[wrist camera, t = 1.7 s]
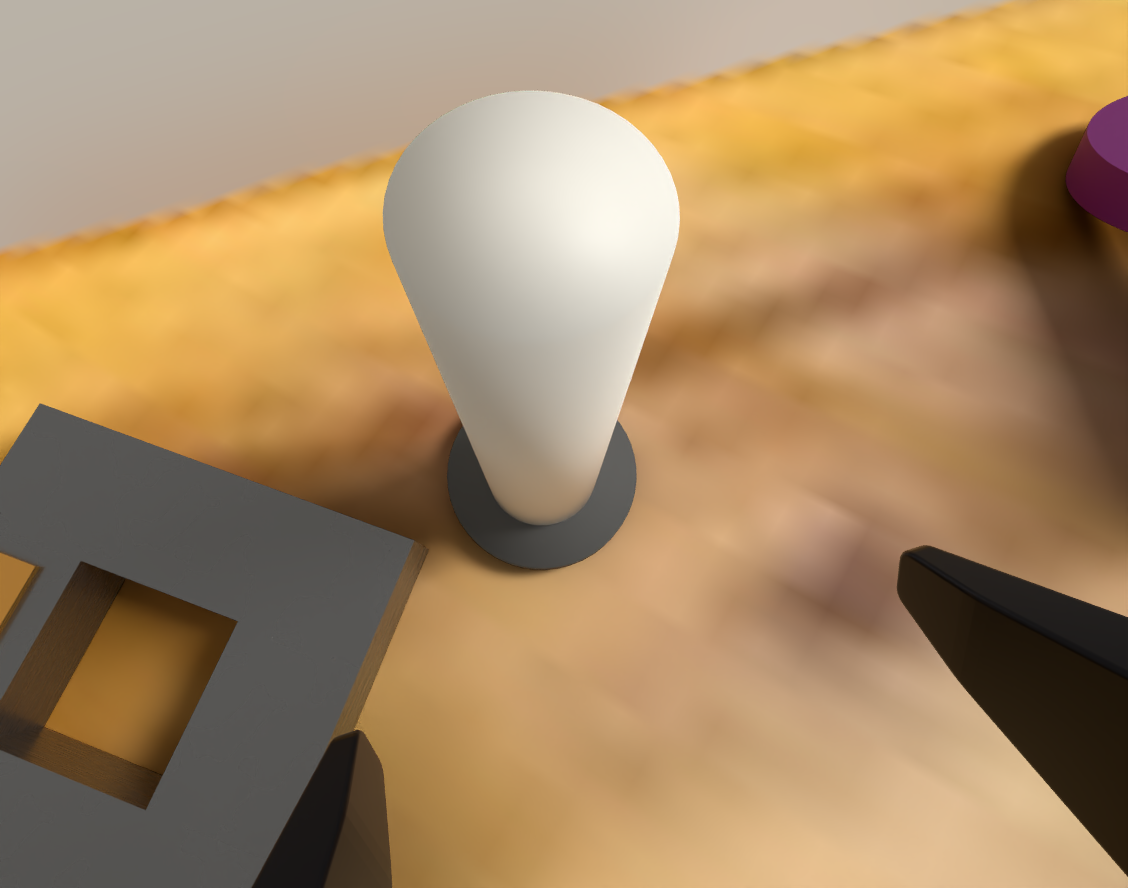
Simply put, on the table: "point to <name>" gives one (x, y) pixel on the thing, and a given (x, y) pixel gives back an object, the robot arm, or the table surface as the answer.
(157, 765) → the table surface
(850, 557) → the table surface
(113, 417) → the table surface
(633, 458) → the pad
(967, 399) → the table surface
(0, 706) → the rack plate
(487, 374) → the peg
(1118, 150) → the mounting bracket
